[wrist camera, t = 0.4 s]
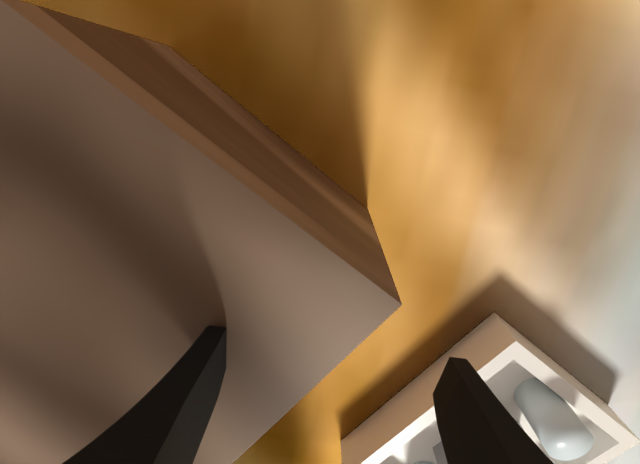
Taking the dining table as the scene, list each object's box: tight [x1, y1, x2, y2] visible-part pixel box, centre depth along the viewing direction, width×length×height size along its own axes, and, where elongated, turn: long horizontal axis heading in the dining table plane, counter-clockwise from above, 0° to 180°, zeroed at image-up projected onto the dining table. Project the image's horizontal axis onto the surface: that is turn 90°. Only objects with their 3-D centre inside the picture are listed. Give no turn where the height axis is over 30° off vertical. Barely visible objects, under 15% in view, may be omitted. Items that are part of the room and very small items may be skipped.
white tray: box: [341, 312, 640, 464], centre depth 25 cm, size 16×13×6 cm
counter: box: [0, 0, 402, 464], centre depth 19 cm, size 24×14×10 cm, turn 141°
